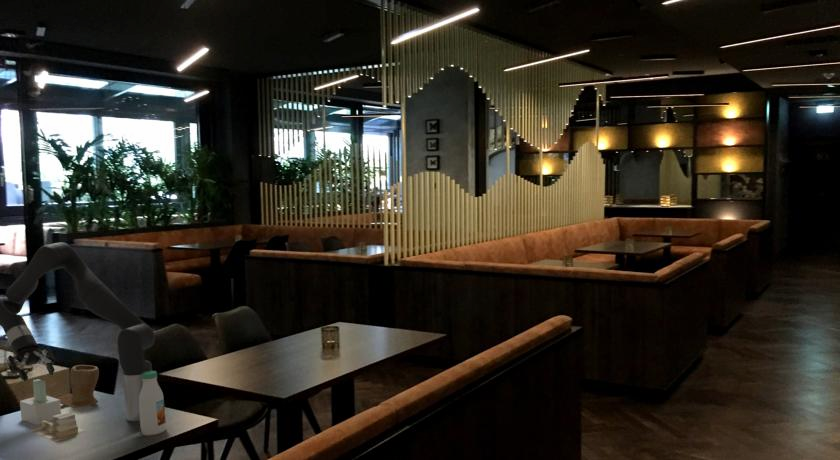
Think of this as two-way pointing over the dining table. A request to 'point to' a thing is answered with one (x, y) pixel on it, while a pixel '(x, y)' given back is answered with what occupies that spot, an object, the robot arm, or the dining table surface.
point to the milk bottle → (151, 405)
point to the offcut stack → (64, 425)
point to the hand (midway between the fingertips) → (39, 376)
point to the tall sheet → (39, 391)
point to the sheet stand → (39, 410)
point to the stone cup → (81, 386)
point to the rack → (47, 432)
